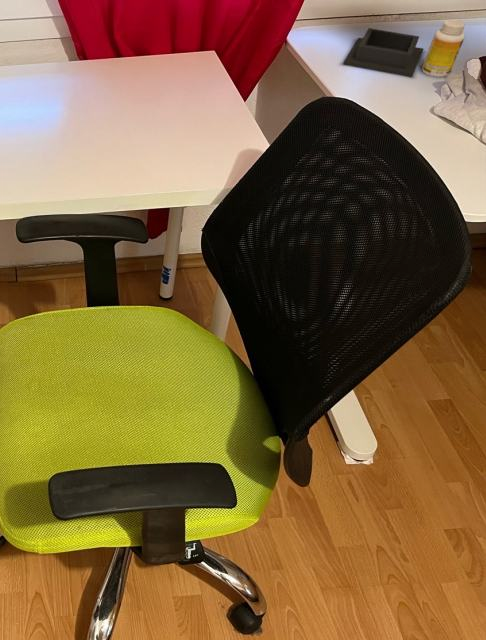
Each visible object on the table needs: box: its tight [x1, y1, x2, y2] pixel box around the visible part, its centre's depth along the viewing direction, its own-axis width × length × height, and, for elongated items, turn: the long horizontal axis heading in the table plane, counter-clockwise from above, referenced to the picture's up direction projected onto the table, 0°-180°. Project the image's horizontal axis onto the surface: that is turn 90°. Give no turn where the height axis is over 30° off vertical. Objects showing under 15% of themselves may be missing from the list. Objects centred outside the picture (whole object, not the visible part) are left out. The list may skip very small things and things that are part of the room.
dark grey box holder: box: [343, 27, 425, 78], centre depth 149 cm, size 14×14×4 cm
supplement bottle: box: [421, 18, 466, 78], centre depth 142 cm, size 6×6×10 cm
